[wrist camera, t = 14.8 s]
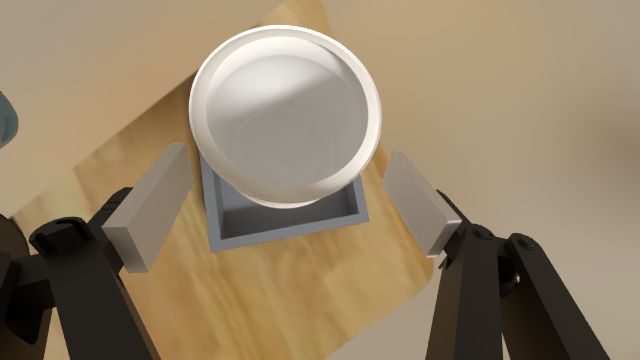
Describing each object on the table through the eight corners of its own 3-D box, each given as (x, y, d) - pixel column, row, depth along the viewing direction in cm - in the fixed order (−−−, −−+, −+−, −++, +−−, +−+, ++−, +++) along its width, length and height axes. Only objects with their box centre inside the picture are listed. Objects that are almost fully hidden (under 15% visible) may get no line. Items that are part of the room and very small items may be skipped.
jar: (308, 113, 29) (342, 7, 14) (340, 191, 28) (411, 162, 13) (221, 140, 26) (156, 44, 12) (254, 226, 25) (227, 237, 11)
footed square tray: (224, 245, 27) (210, 252, 22) (208, 117, 29) (192, 92, 24) (351, 220, 31) (369, 221, 25) (329, 107, 33) (341, 83, 27)
